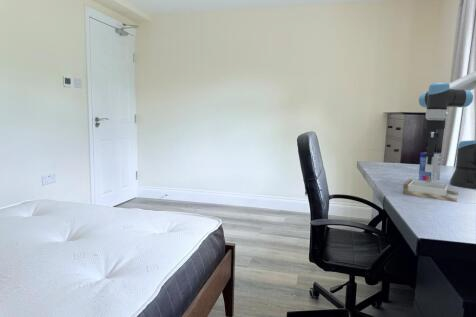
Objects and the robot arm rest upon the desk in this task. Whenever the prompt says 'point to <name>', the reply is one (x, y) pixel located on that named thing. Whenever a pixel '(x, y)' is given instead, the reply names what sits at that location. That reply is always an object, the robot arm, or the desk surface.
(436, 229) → the desk surface
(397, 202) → the desk surface
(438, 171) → the ink cartridge box
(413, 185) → the caddy
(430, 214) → the desk surface
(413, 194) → the backstop
